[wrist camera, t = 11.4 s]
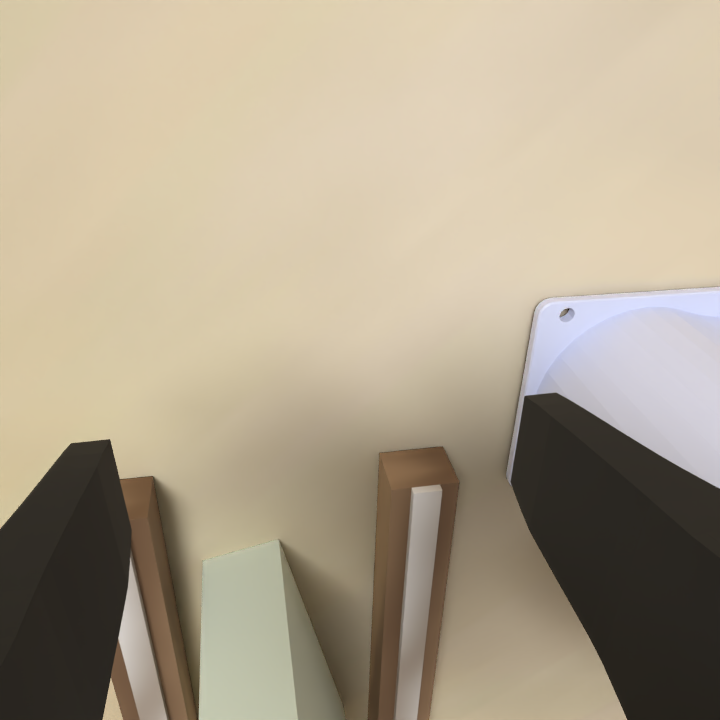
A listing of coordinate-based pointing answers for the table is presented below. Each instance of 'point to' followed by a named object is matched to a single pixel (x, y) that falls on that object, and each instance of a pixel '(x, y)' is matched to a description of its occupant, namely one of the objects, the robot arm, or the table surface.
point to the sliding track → (390, 596)
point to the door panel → (260, 643)
